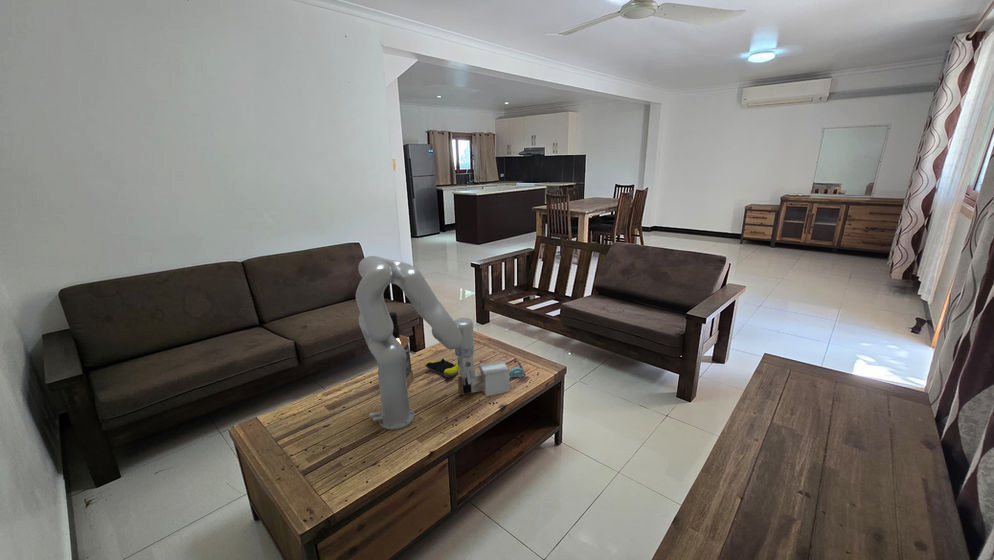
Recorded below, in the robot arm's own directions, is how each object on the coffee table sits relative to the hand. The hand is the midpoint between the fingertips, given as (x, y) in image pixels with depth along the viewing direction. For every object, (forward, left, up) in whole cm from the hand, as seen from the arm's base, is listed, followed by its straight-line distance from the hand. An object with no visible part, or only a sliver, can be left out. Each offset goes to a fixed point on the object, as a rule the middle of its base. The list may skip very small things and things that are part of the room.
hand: (466, 390), depth 161 cm
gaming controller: (-6, +20, -2) cm, 21 cm away
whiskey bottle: (-25, +18, -2) cm, 31 cm away
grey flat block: (+6, 0, -1) cm, 6 cm away
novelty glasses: (+21, +12, -2) cm, 24 cm away
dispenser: (+12, 0, -2) cm, 12 cm away
